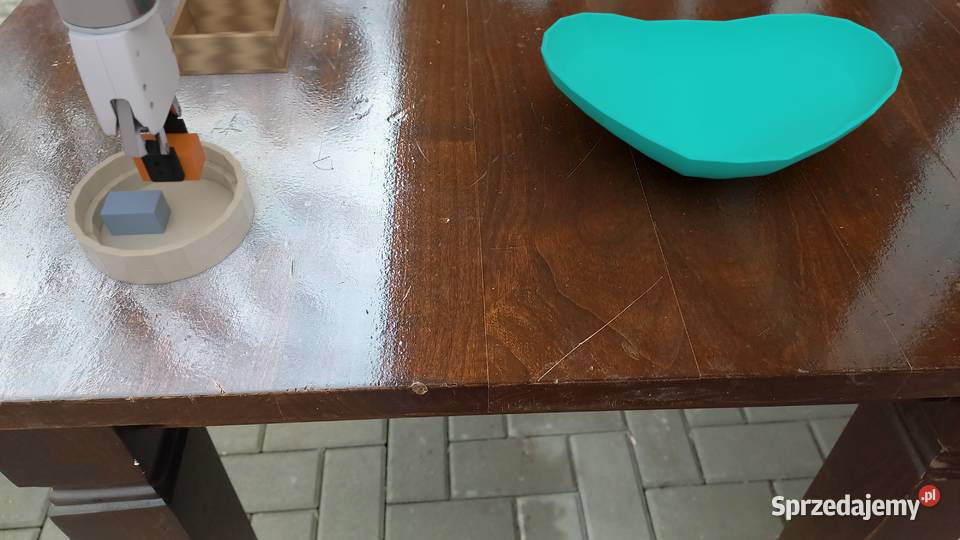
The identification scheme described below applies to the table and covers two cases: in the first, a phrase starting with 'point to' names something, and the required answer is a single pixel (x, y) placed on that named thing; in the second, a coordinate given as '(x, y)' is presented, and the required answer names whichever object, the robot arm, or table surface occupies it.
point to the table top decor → (722, 85)
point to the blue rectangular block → (136, 212)
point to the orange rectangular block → (180, 155)
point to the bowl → (190, 228)
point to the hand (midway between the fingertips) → (173, 164)
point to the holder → (232, 36)
